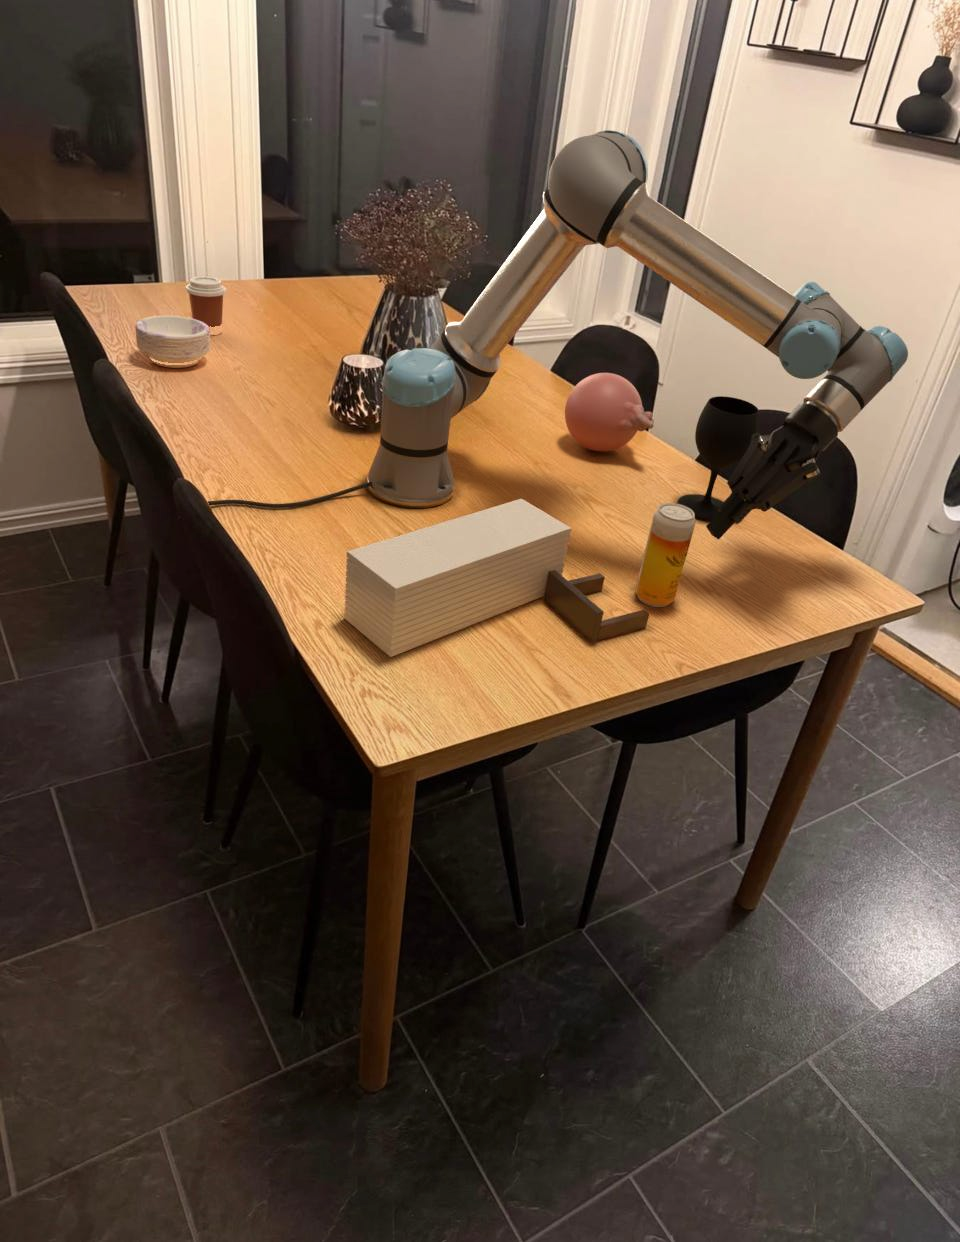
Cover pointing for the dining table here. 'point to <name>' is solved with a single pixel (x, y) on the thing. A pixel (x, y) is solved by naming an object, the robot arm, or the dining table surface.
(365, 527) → the dining table surface
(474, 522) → the stack of papers
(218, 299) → the coffee cup
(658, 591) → the beer can
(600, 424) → the balloon
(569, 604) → the brown wooden u-shaped frame
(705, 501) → the wine glass
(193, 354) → the paper bowls
